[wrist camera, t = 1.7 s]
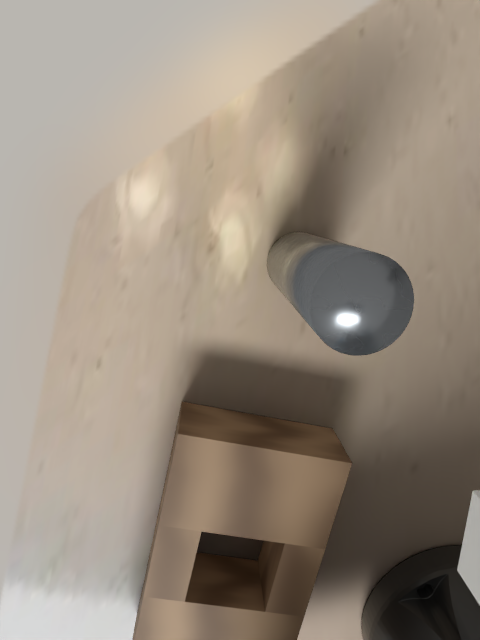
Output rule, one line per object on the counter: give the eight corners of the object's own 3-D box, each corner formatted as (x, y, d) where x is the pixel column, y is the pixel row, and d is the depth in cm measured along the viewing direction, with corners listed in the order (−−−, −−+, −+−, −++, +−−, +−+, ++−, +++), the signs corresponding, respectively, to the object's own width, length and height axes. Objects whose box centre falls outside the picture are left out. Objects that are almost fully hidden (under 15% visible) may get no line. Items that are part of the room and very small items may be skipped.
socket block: (332, 428, 36) (352, 463, 31) (272, 630, 40) (281, 688, 36) (181, 401, 34) (177, 433, 30) (136, 614, 39) (126, 672, 34)
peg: (335, 239, 32) (427, 264, 19) (318, 299, 33) (395, 364, 20) (275, 225, 32) (325, 241, 18) (260, 286, 33) (298, 344, 19)
